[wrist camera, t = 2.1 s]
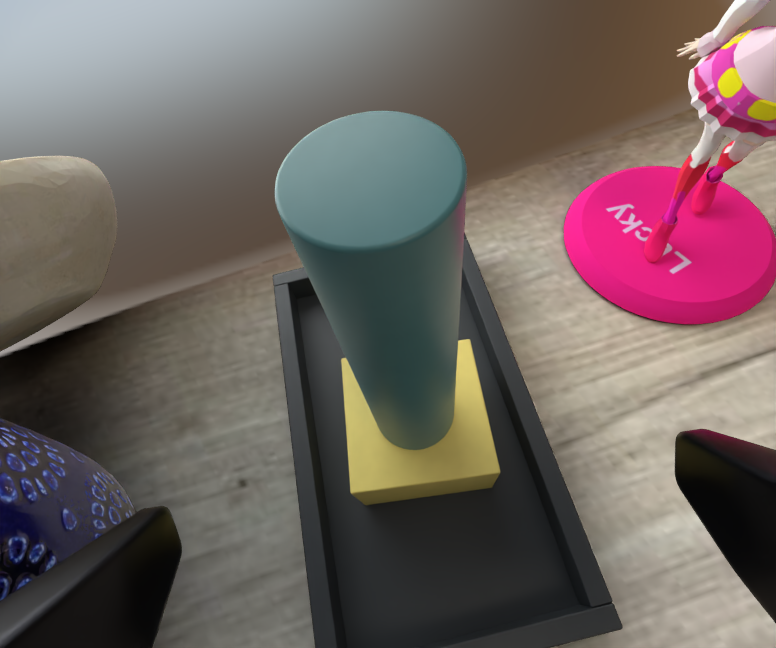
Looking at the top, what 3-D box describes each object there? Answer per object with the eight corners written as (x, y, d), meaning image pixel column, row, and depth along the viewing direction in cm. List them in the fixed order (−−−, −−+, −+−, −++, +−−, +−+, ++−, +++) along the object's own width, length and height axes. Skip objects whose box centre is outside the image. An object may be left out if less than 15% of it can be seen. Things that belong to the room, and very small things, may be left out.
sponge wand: (492, 487, 17) (605, 289, 5) (364, 505, 18) (179, 356, 5) (466, 368, 20) (501, 42, 8) (354, 385, 20) (212, 94, 8)
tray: (603, 622, 15) (624, 629, 14) (336, 691, 15) (321, 707, 14) (461, 254, 23) (462, 227, 22) (285, 297, 23) (272, 274, 22)
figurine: (523, 223, 24) (618, -194, 11) (662, 146, 26) (890, -301, 12) (667, 364, 20) (1121, -58, 6) (825, 259, 21) (1449, -252, 8)
